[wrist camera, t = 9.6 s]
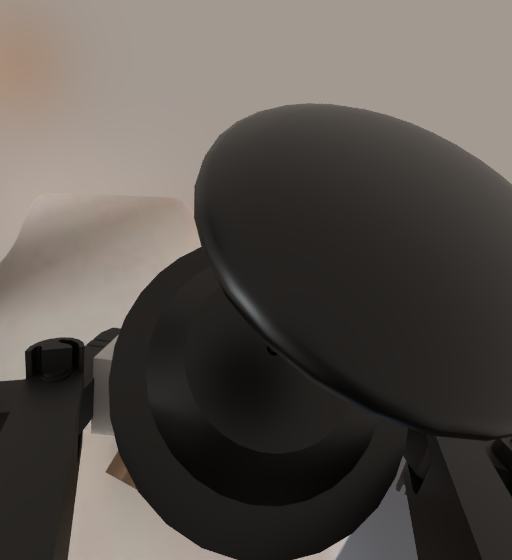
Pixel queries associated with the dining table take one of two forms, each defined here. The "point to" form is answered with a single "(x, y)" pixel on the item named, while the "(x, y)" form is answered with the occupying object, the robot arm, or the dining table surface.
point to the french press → (315, 329)
